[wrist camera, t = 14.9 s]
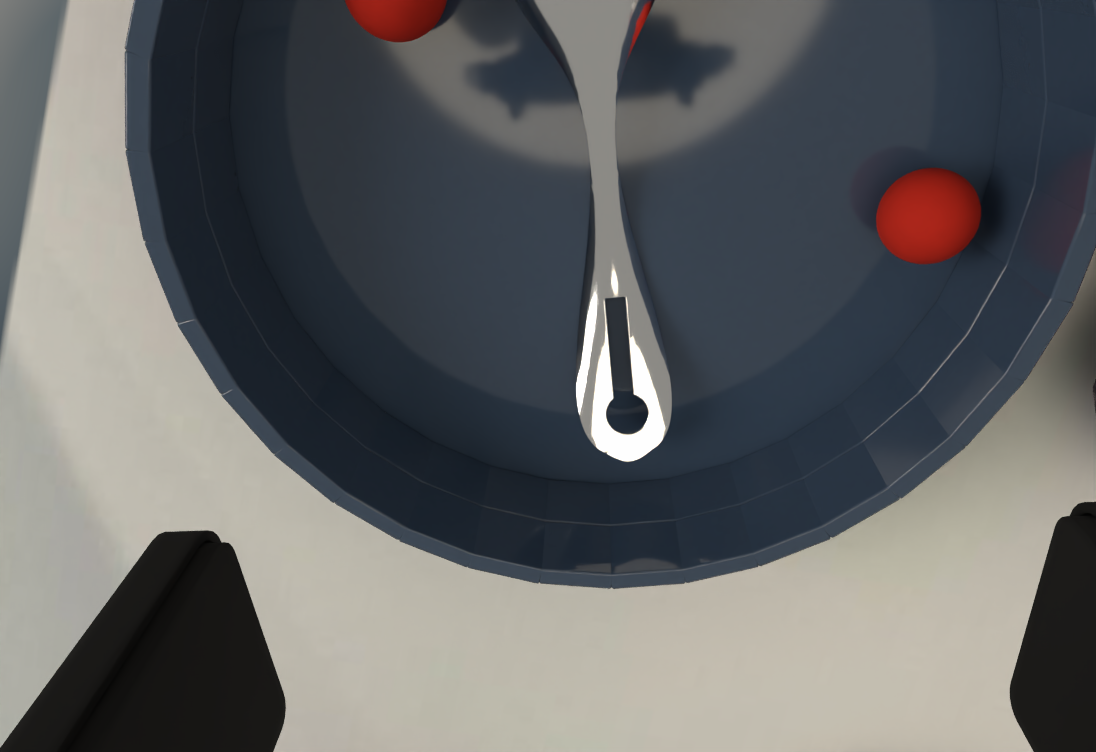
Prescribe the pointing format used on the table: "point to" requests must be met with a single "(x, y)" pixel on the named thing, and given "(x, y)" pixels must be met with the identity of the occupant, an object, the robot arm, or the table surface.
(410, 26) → the tomato
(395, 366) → the bowl
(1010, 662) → the table surface
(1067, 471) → the table surface
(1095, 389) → the mineral specimen
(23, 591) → the table surface
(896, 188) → the tomato
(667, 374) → the metal spoon
